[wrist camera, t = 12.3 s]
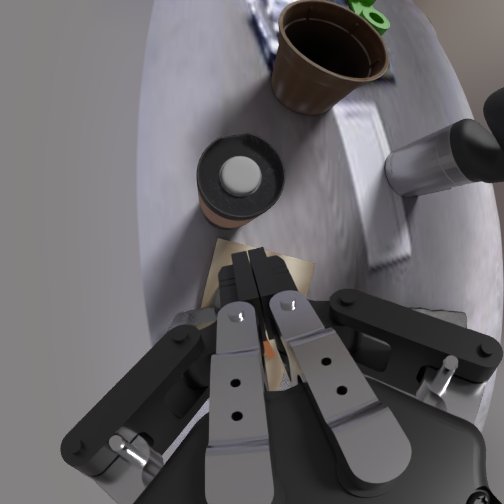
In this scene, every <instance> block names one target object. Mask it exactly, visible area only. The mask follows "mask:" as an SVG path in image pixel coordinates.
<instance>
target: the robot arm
mask: <svg viewBox="0 0 504 504" xmlns="http://www.w3.org/2000/svg"><path fill="white" fill-rule="evenodd" d="M483 112H484V117H485V119H486V122H487V124H488V126H489V128H490V130H491V131H492V133H493V135H492V134H491V133H490V132H489V131H488V130H486V129H485V128H484V127H483V126H482V125H481V124H480V123H478V122H476V121H475V120H472V119H463V120H460V121H458V122H456V123H454V124H452V125H449V126H447V127H445V128H443V129H441V130H439V131H436V132H434V133H432V134H430V135H428V136H425V137H423V138H421V139H419V140H417V141H415V142H412V143H410V144H408V145H406V146H404V147H402V148H400V149H397V150H395V151H393V152H392V153H390V155H389V156H388V158H387V160H386V164H385V170H386V176H387V179H388V181H389V183H390V185H391V187H392V188H393V189H394V190H395V191H396V192H397V193H398V194H400V195H402V196H405V197H411V196H415V195H417V196H421V195H425V194H430V193H435V192H439V191H444V190H449V189H451V188H452V187H456V186H461V185H465V184H470V183H474V182H480V181H482V182H486V183H496V182H504V87H503V88H501V89H499V90H497V91H496V92H494V93H493V94H491V95H490V96H489V97H488V98H487V100H486V102H485V104H484V108H483ZM248 256H249V258H248ZM231 257H232V263H233V264H232V265H228V266H223V267H221V269H220V271H219V273H218V281H219V293H220V305H221V310H220V311H219V312H218V315H217V320H216V321H215V322H214V323H212V324H211V325H209V326H207V327H205V328H203V329H200V330H198V328H197V327H195V326H193V325H189V324H184V325H179V326H176V327H174V328H172V329H171V330H169V331H168V332H167V333H166V334H165V335H164V336H163V337H162V338H161V339H160V340H159V341H158V342H157V343H156V344H155V345H154V346H153V347H152V348H151V349H150V350H149V352H148V353H146V355H144V356H143V357H142V359H141V360H140V361H139V362H138V363H137V364H136V365H135V366H134V367H133V368H132V369H131V370H130V371H129V372H128V373H127V374H126V375H125V376H124V377H123V378H122V379H121V380H120V381H119V382H118V383H117V384H116V385H115V386H114V387H113V388H112V389H111V390H110V391H109V392H108V393H107V394H106V395H105V396H104V397H103V398H102V399H101V400H100V401H99V402H98V403H97V404H96V405H95V406H94V407H93V408H92V409H91V410H90V411H89V412H88V413H87V414H86V416H84V417H83V418H82V420H81V421H79V422H78V423H77V424H76V426H75V427H74V428H73V429H72V430H71V431H70V432H69V433H68V434H67V435H66V436H65V437H64V439H63V440H62V443H61V455H62V457H63V459H64V461H65V462H66V463H67V464H69V465H70V466H72V467H74V468H75V469H77V470H79V471H80V472H81V473H82V474H84V475H85V476H87V477H89V478H91V479H92V480H94V481H95V482H96V483H97V484H98V485H99V486H100V487H101V488H102V489H103V490H104V491H105V492H106V493H107V494H108V495H109V496H110V497H111V498H112V499H113V500H114V501H115V502H116V503H117V504H502V503H501V502H500V501H499V500H498V499H497V498H496V497H495V496H494V495H493V494H492V492H491V491H490V489H489V486H488V483H487V477H486V447H485V441H484V438H483V436H482V434H481V432H480V431H479V430H478V428H477V427H476V426H475V425H474V422H475V419H476V416H477V413H478V410H479V407H480V403H481V400H482V396H483V392H484V389H485V385H486V383H487V381H488V380H489V378H490V377H491V376H492V374H493V373H494V371H495V370H496V368H497V366H498V365H499V363H500V362H501V360H502V357H503V351H502V347H501V345H500V344H499V342H498V341H497V340H495V339H494V338H492V337H490V336H488V335H485V334H482V333H479V332H476V331H473V330H470V329H467V328H464V327H462V326H459V325H456V324H453V323H450V322H447V321H444V320H441V319H438V318H435V317H432V316H429V315H427V314H424V313H421V312H418V311H415V310H412V309H409V308H406V307H403V306H400V305H398V304H395V303H392V302H389V301H386V300H383V299H380V298H377V297H374V296H372V295H369V294H366V293H363V292H360V291H357V290H353V289H343V290H339V291H337V292H335V293H334V294H333V295H332V296H331V297H330V301H312V300H308V299H307V298H306V297H305V295H304V294H302V293H301V292H299V291H298V289H297V287H296V285H295V282H294V280H293V278H292V276H291V274H290V272H289V270H288V268H287V266H286V263H285V261H284V260H283V259H282V258H280V257H279V256H277V255H274V256H269V257H267V256H266V253H265V250H264V248H263V247H261V248H256V249H251V250H248V255H247V251H242V252H237V253H233V254H231ZM249 261H250V262H249ZM263 320H264V321H263ZM264 324H265V326H264ZM265 328H266V332H267V335H268V339H269V340H272V339H274V340H275V344H276V349H277V354H278V357H279V359H280V362H281V364H282V367H283V370H284V372H285V375H286V377H287V380H288V382H289V385H290V387H291V388H289V389H287V390H284V391H269V385H268V378H267V370H266V363H265V356H264V353H265V348H264V343H263V342H264V341H267V337H266V332H265ZM363 333H364V334H367V335H369V336H372V337H374V338H377V339H379V340H382V341H384V342H386V343H387V344H389V346H388V345H385V344H383V343H380V342H378V341H375V340H373V339H370V338H368V337H365V336H363ZM362 373H363V374H365V375H368V376H370V377H372V378H374V379H377V380H379V381H381V382H384V383H386V384H388V385H391V386H393V387H395V388H398V389H400V390H402V391H405V392H407V393H410V394H412V395H415V396H416V398H417V399H416V398H413V397H411V396H409V395H407V394H405V393H402V392H400V391H398V390H396V389H394V388H392V387H389V386H387V385H385V384H383V383H381V382H379V381H377V380H374V379H371V378H368V377H364V376H363V374H362ZM209 397H210V407H209V412H208V413H207V414H205V415H204V416H203V417H202V418H201V419H200V420H199V421H198V422H197V423H196V424H195V425H194V426H193V428H192V429H191V430H190V432H189V433H188V434H187V436H186V437H185V438H184V440H183V441H182V442H181V444H180V445H179V446H178V448H177V449H176V450H175V452H174V453H173V454H172V456H171V457H170V458H169V459H168V461H167V462H166V463H165V465H164V466H163V458H162V455H163V453H164V452H165V451H166V450H167V449H168V447H169V446H170V445H171V444H172V443H173V441H174V440H175V439H176V438H177V437H178V435H179V434H180V433H181V432H182V431H183V429H184V428H185V427H186V426H187V424H188V423H189V422H190V421H191V419H192V418H193V417H194V416H195V414H196V413H197V412H198V411H199V409H200V408H201V407H202V406H203V404H204V403H205V402H206V401H207V399H208V398H209Z"/></svg>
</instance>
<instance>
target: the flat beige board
mask: <svg viewBox="0 0 504 504" xmlns="http://www.w3.org/2000/svg"><path fill="white" fill-rule="evenodd" d="M251 249H256V248H254V247H251V246H247V245H243V244H239V243H235V242H231V241H228V240H224V239H220V238H218V239H217V243H216V246H215V250H214V254H213V258H212V262H211V266H210V270H209V274H208V278H207V282H206V286H205V291H204V295H203V299H202V303H201V307H200V308H202V307H206V306H210V305H214V296H215V292H216V290H217V288H218V286H219V281H218V273H219V271H220V269H221V267H223V266H228V265H232V264H233V263H232V257H231V254H233V253H237V252H242V251H247V255H248V250H251ZM265 253H266V256H267V257H269V256H274V255H277V256H279V257H280V258H282V259H283V260H284V261H285V263H286V266H287V268H288V270H289V272H290V274H291V276H292V278H293V280H294V282H295V285H296V287H297V289H298V291H299V292H301V293H302V294H304V295H305V297H307V293H308V289H309V285H310V282H311V278H312V274H313V270H314V266H315V263H312V262H308V261H304V260H300V259H296V258H293V257H289V256H285V255H281V254H277V253H274V252H270V251H266V250H265ZM248 258H249V256H248ZM249 262H250V261H249ZM215 321H216V320H215ZM215 321H211V322H207V323H203V324H199V325H196V327H197V328H198V330H200V329H203V328H205V327H207V326H209V325H211V324H212V323H214V322H215ZM265 332H266V331H265ZM266 336H267V338H268V335H267V332H266ZM268 340H269V339H268ZM269 343H270V345H271V347H272V349H273V351H274V353H275V355H276V357H274V358H272V359H270V360H268V358H267V356H266V354H265V353H264V356H265V363H266V370H267V378H268V385H269V391H278V390H279V387H280V384H281V381H282V378H283V375H284V370H283V367H282V364H281V362H280V359H279V357H278V354H277V349H276V344H275V340H274V339H272V340H269Z"/></svg>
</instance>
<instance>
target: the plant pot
mask: <svg viewBox="0 0 504 504" xmlns="http://www.w3.org/2000/svg"><path fill="white" fill-rule="evenodd" d="M278 24H279V30H280V31H279V37H278V42H279V47H278V51H277V55H276V60H275V64H274V69H273V73H272V77H271V86H272V89H273V92H274V94H275V95H276V97H277V98H278V100H279V101H280V102H281V103H282V104H283V105H284V106H286V107H287V108H289V109H290V110H292V111H294V112H300V113H303V114H306V115H318V114H322V113H324V112H326V111H328V110H329V109H330V108H332V107H333V106H334V105H335V104H336V103H338V102H339V101H340V100H341V99H343V98H344V97H345V96H346V95H348V94H349V93H350V92H352V91H353V90H354V89H356V88H359V87H361V86H363V85H364V84H366V83H367V82H370V81H373V80H376V79H377V78H379V77H381V76H382V75H383V74H384V73H385V71H386V70H387V68H388V64H389V54H388V50H387V47H386V45H385V43H384V41H383V39H382V38H381V36H380V35H379V34H378V32H377V31H376V30H375V29H374V28H373V27H372V26H371V25H370V24H369V23H368V22H367V21H366V20H365V19H363V18H362V17H361V16H359V15H358V14H356V13H355V12H353V11H351V10H349V9H347V8H345V7H343V6H341V5H338V4H335V3H332V2H328V1H324V0H299V1H296V2H293V3H291V4H289V5H287V6H286V7H285V8H284V9H283V10H282V12H281V14H280V17H279V22H278Z"/></svg>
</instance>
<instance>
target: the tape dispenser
mask: <svg viewBox="0 0 504 504" xmlns="http://www.w3.org/2000/svg"><path fill="white" fill-rule="evenodd" d="M375 1H376V0H348V2H349V5H350V7H351V10H352V11H353V12H355V13H356V14H358V15H359V16H361V17H362V18H363V19H365V20H366V21H367V22H368V23H369V24H370V25H371V26H372V27H373V28H374V29H375V30H376V31H377V32H378V34H379V35H380V36H382V35H383V34H384V32H385V31H386V30H387V29H388V28H389V27H390V24H389V21H388V20H387V18H386V17H385V16H384V15H383V14H381V13H380V12H378V11H377V10H375V9H373V6H372V4H373V3H374V2H375Z"/></svg>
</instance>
